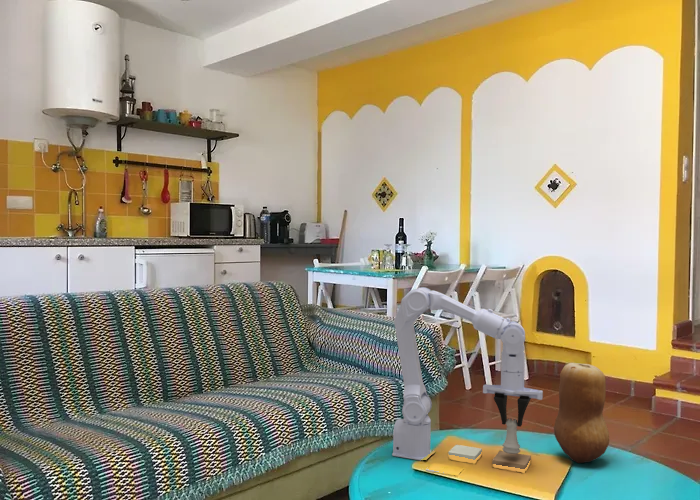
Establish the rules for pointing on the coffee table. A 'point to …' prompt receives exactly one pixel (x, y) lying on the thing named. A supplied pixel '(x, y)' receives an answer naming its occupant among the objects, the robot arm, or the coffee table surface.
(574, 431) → the butternut squash
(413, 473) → the coffee table surface
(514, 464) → the walnut block
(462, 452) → the grey-green block
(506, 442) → the rook chess piece
